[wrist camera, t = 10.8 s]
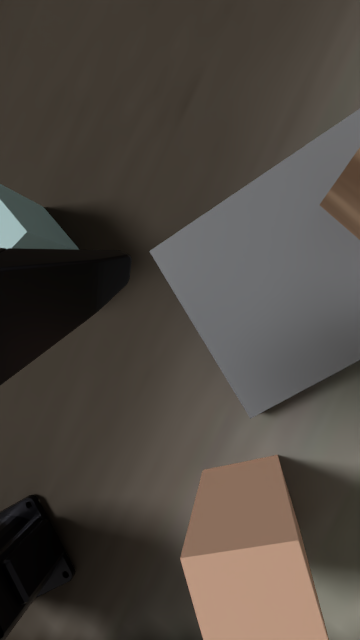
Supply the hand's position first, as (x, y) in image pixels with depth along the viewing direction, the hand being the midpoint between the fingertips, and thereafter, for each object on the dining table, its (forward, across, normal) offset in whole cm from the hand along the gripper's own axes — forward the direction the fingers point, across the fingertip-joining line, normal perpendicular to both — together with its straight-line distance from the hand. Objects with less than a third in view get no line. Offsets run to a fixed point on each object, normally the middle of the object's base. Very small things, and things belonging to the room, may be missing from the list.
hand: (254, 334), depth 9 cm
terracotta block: (+6, -3, +16) cm, 17 cm away
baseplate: (+13, 0, +2) cm, 13 cm away
